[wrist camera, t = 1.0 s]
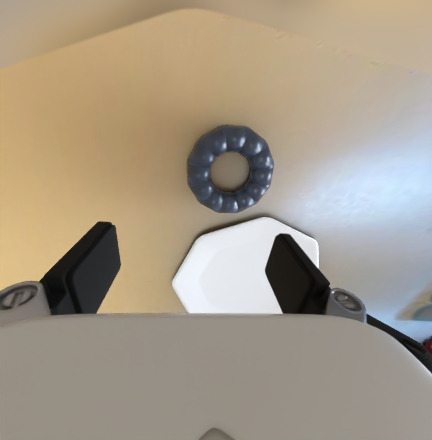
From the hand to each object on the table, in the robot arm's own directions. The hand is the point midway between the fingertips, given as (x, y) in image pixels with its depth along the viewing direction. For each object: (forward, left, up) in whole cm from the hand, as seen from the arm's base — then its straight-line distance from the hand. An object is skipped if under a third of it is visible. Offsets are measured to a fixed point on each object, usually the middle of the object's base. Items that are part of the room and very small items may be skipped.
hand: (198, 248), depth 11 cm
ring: (+4, +3, -16) cm, 17 cm away
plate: (+19, -13, -18) cm, 29 cm away
